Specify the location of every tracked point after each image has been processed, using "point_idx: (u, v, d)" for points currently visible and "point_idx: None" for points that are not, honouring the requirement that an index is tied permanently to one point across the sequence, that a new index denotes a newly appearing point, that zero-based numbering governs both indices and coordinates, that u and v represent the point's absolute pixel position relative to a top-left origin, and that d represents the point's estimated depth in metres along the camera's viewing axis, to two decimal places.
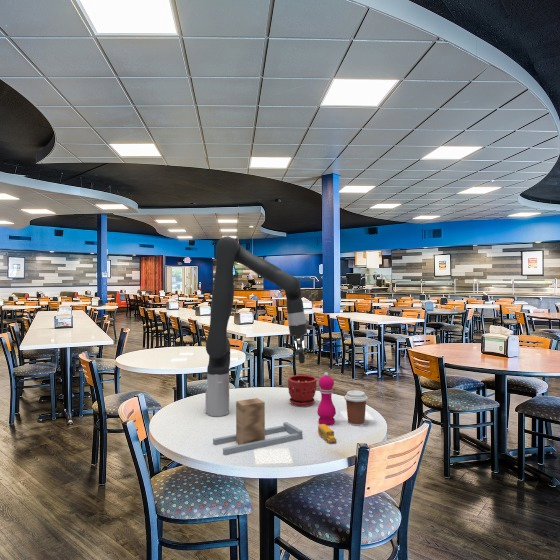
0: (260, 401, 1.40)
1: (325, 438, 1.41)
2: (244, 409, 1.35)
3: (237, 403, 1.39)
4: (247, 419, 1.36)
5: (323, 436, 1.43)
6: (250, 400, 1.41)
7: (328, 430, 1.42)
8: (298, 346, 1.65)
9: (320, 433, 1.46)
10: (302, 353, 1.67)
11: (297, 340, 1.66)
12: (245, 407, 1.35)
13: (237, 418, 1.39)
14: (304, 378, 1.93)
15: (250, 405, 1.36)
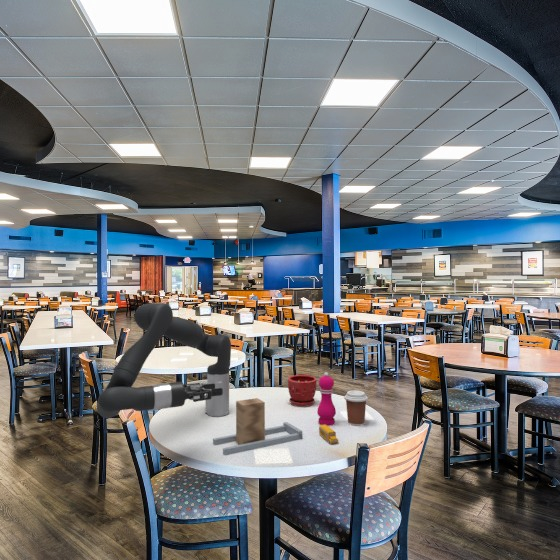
0: (260, 401, 1.40)
1: (327, 439, 1.41)
2: (244, 409, 1.35)
3: (237, 403, 1.39)
4: (247, 419, 1.36)
5: (325, 437, 1.42)
6: (250, 400, 1.41)
7: (330, 431, 1.41)
8: None
9: (321, 434, 1.45)
10: None
11: None
12: (245, 407, 1.35)
13: (237, 418, 1.39)
14: (304, 378, 1.93)
15: (250, 405, 1.36)
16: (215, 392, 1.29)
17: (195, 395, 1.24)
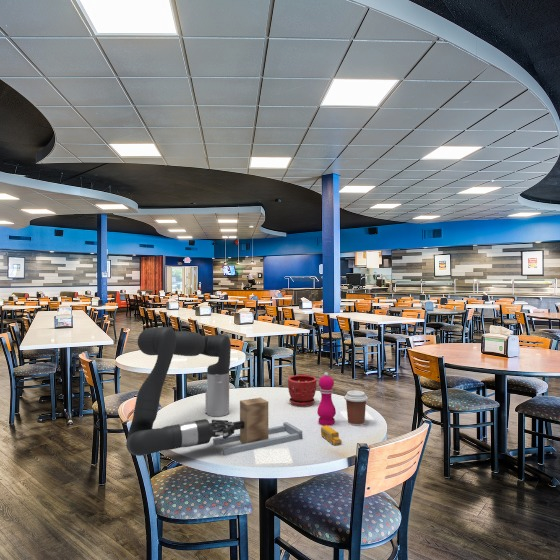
0: (264, 400, 1.41)
1: (330, 440, 1.40)
2: (248, 408, 1.36)
3: (241, 402, 1.40)
4: (251, 418, 1.36)
5: (327, 438, 1.41)
6: (254, 400, 1.42)
7: (332, 431, 1.40)
8: None
9: (323, 435, 1.44)
10: None
11: None
12: (248, 407, 1.36)
13: (241, 417, 1.40)
14: (304, 378, 1.93)
15: (254, 404, 1.37)
16: (237, 426, 1.36)
17: (226, 432, 1.29)
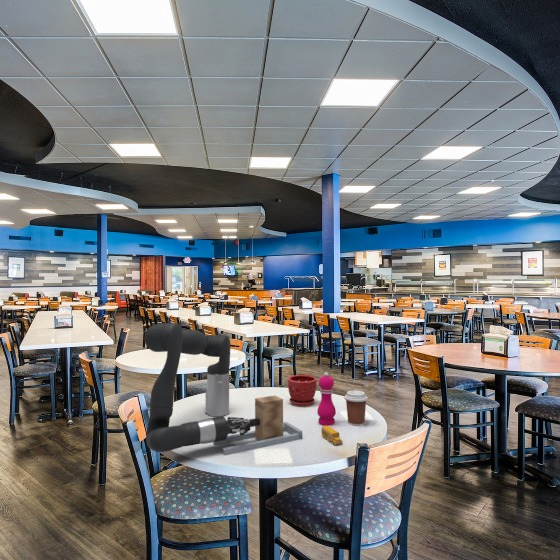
0: (278, 398, 1.43)
1: (330, 440, 1.40)
2: (263, 406, 1.39)
3: (256, 400, 1.43)
4: (266, 416, 1.39)
5: (328, 438, 1.41)
6: (269, 397, 1.44)
7: (333, 432, 1.40)
8: None
9: (324, 435, 1.44)
10: None
11: None
12: (264, 404, 1.39)
13: (256, 415, 1.43)
14: (304, 378, 1.93)
15: (269, 402, 1.40)
16: (253, 423, 1.39)
17: (243, 429, 1.32)
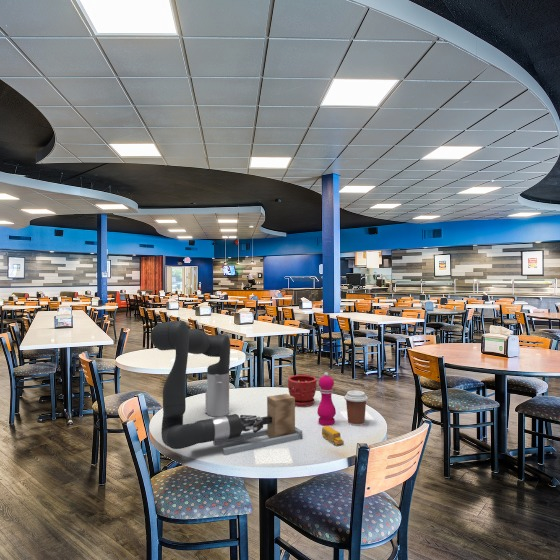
0: (290, 396, 1.46)
1: (332, 440, 1.39)
2: (276, 404, 1.41)
3: (268, 398, 1.45)
4: (279, 414, 1.42)
5: (329, 438, 1.41)
6: (280, 396, 1.47)
7: (334, 432, 1.40)
8: None
9: (325, 435, 1.44)
10: None
11: None
12: (276, 402, 1.41)
13: (268, 413, 1.45)
14: (304, 378, 1.93)
15: (281, 400, 1.42)
16: (266, 421, 1.41)
17: (256, 426, 1.34)
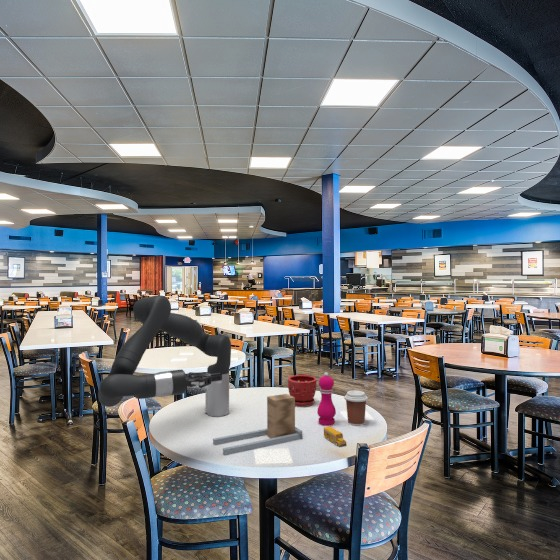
0: (290, 396, 1.46)
1: (334, 441, 1.39)
2: (276, 404, 1.41)
3: (268, 398, 1.45)
4: (279, 414, 1.42)
5: (331, 439, 1.40)
6: (280, 396, 1.47)
7: (337, 432, 1.39)
8: None
9: (327, 436, 1.43)
10: None
11: None
12: (276, 402, 1.41)
13: (268, 413, 1.45)
14: (304, 378, 1.93)
15: (281, 400, 1.42)
16: (215, 377, 1.32)
17: (202, 381, 1.25)
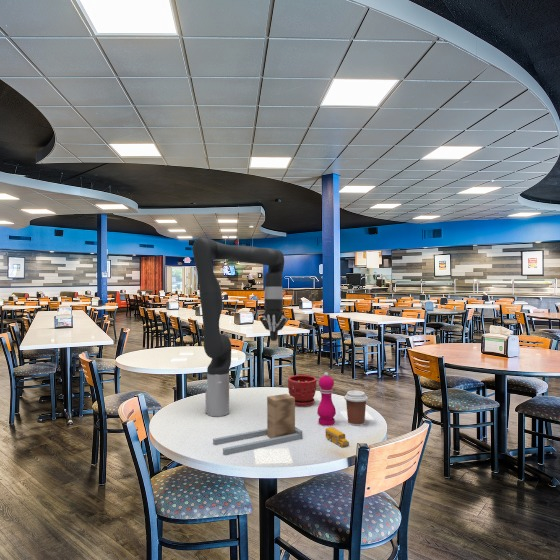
0: (290, 396, 1.46)
1: (337, 442, 1.38)
2: (276, 404, 1.41)
3: (268, 398, 1.45)
4: (279, 414, 1.42)
5: (333, 440, 1.40)
6: (280, 396, 1.47)
7: (339, 433, 1.39)
8: None
9: (329, 437, 1.42)
10: None
11: None
12: (276, 402, 1.41)
13: (268, 413, 1.45)
14: (304, 378, 1.93)
15: (281, 400, 1.42)
16: (276, 334, 1.65)
17: (287, 320, 1.63)
